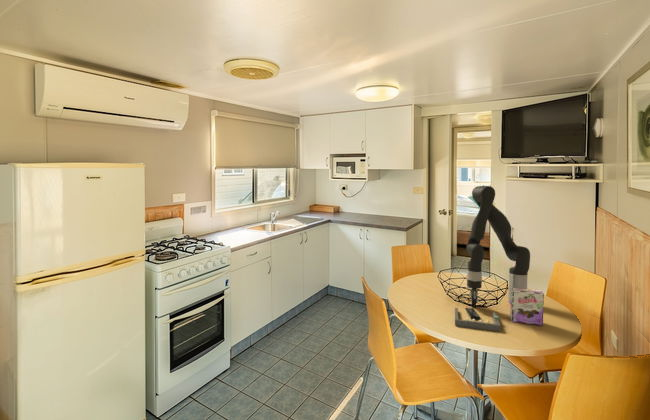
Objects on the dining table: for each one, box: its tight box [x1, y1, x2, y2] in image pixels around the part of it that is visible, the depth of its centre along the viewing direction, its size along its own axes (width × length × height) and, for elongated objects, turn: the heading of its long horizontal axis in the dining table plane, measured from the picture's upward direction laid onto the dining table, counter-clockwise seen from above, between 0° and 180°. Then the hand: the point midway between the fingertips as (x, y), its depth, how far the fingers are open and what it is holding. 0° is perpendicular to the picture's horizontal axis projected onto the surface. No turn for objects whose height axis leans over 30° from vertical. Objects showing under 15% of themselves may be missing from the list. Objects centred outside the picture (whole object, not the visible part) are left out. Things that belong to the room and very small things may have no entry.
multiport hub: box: [464, 307, 481, 321], centre depth 180 cm, size 4×14×2 cm, turn 170°
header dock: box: [454, 307, 502, 333], centre depth 170 cm, size 20×20×4 cm
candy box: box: [509, 288, 545, 326], centre depth 171 cm, size 14×6×16 cm, turn 68°
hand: (473, 309), depth 188 cm, fingers closed
